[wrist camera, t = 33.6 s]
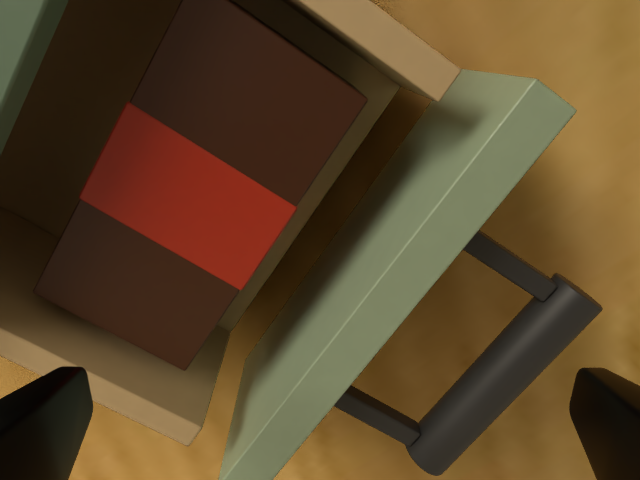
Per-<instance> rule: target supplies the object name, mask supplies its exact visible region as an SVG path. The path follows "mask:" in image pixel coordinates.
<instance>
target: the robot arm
mask: <svg viewBox="0 0 640 480" xmlns="http://www.w3.org/2000/svg"><path fill="white" fill-rule="evenodd" d="M569 410H570V415H571V419H572V421H573V424H574V426H575V428H576V431H577V433H578V436H579V438H580V440H581V443H582V445H583V447H584V450H585V452H586V455H587V457H588V459H589V462H590V464H591V467H592V469H593V471H594V474H595V476H596V478H597V480H640V386H639V385H637V384H635V383H633V382H631V381H629V380H627V379H625V378H623V377H621V376H619V375H617V374H615V373H613V372H611V371H609V370H607V369H605V368H582V369H580V370H579V371H578V372H577V375H576V378H575V383H574V387H573V391H572V396H571V400H570V405H569ZM92 412H93V401H92V396H91V391H90V385H89V380H88V375H87V372H86V370H85V369H84V368H83V367H80V366H62V367H59V368H57V369H55V370H53V371H51V372H49V373H47V374H45V375H44V376H42V377H40V378H38V379H36V380H34V381H33V382H31V383H29V384H27V385H25V386H23V387H21V388H20V389H18V390H16V391H14V392H12V393H10V394H9V395H7V396H5V397H3V398H1V399H0V480H68V479H69V476H70V474H71V471H72V468H73V465H74V463H75V460H76V457H77V455H78V452H79V449H80V447H81V444H82V441H83V439H84V436H85V433H86V430H87V428H88V425H89V422H90V420H91V417H92Z"/></svg>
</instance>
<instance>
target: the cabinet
mask: <svg viewBox="0 0 640 480" xmlns="http://www.w3.org/2000/svg"><path fill="white" fill-rule="evenodd" d="M68 1H69V0H0V156H1V153H2V151H3V149H4V146H5V144H6V142H7V140H8V137H9V135H10V133H11V131H12V128H13V126H14V124H15V121H16V119H17V117H18V115H19V112H20V110H21V108H22V105H23V103H24V101H25V99H26V96H27V94H28V92H29V90H30V87H31V85H32V83H33V80H34V78H35V76H36V74H37V71H38V69H39V67H40V64H41V62H42V60H43V58H44V55H45V53H46V51H47V49H48V46H49V44H50V42H51V39H52V37H53V35H54V33H55V30H56V28H57V26H58V23H59V21H60V19H61V17H62V14H63V12H64V10H65V8H66V5H67V3H68Z"/></svg>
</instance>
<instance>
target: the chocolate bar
mask: <svg viewBox="0 0 640 480" xmlns="http://www.w3.org/2000/svg"><path fill="white" fill-rule="evenodd" d="M367 102H368V99H367V97H366V96H365V95H363V94H362V93H361V92H360V91H359V90H358V89H357V88H356V87H355V86H353V85H352V84H351V83H349V82H348V81H346V80H345V79H344V78H342V77H341V76H339V75H338V74H336V73H335V72H334V71H332V70H331V69H329V68H328V67H327V66H325V65H324V64H322V63H321V62H320V61H318V60H317V59H315V58H314V57H312V56H311V55H310V54H308V53H307V52H305V51H304V50H303V49H301V48H300V47H298V46H297V45H295V44H294V43H293V42H291V41H290V40H288V39H287V38H286V37H284V36H283V35H281V34H280V33H278V32H277V31H276V30H274V29H273V28H271V27H270V26H269V25H267V24H266V23H264V22H263V21H261V20H260V19H259V18H257V17H256V16H254V15H253V14H252V13H250V12H249V11H247V10H246V9H244V8H243V7H242V6H240V5H239V4H237V3H236V2H235V1H233V0H181V2H180V4H179V6H178V7H177V9H176V11H175V13H174V15H173V17H172V19H171V21H170V23H169V25H168V27H167V29H166V31H165V33H164V35H163V37H162V39H161V41H160V43H159V45H158V47H157V49H156V51H155V52H154V54H153V56H152V58H151V60H150V62H149V64H148V66H147V68H146V70H145V72H144V74H143V76H142V78H141V80H140V82H139V84H138V86H137V88H136V90H135V92H134V94H133V96H132V98H131V99H130V101H128V102H126V103H125V105H124V107H123V109H122V111H121V113H120V115H119V117H118V119H117V121H116V123H115V125H114V127H113V129H112V131H111V133H110V135H109V137H108V139H107V141H106V143H105V145H104V147H103V149H102V151H101V153H100V155H99V157H98V158H97V160H96V162H95V164H94V166H93V168H92V170H91V172H90V174H89V176H88V178H87V180H86V182H85V184H84V186H83V188H82V190H81V192H80V194H79V201H78V203H77V205H76V207H75V209H74V211H73V213H72V215H71V217H70V219H69V221H68V223H67V225H66V227H65V229H64V231H63V233H62V234H61V236H60V238H59V240H58V242H57V244H56V246H55V248H54V250H53V252H52V254H51V256H50V258H49V260H48V262H47V264H46V266H45V268H44V270H43V272H42V274H41V276H40V278H39V279H38V281H37V283H36V285H35V287H34V289H33V293H34V294H36V295H38V296H40V297H42V298H44V299H46V300H48V301H50V302H52V303H54V304H56V305H58V306H59V307H61V308H63V309H65V310H67V311H69V312H71V313H73V314H75V315H77V316H79V317H81V318H83V319H85V320H87V321H88V322H90V323H92V324H94V325H96V326H98V327H100V328H102V329H104V330H106V331H108V332H110V333H112V334H114V335H116V336H117V337H119V338H121V339H123V340H125V341H127V342H129V343H131V344H133V345H135V346H137V347H139V348H141V349H143V350H145V351H146V352H148V353H150V354H152V355H154V356H156V357H158V358H160V359H162V360H164V361H166V362H168V363H170V364H172V365H174V366H175V367H177V368H179V369H181V370H183V371H185V370H187V368H188V367H189V365H190V364H191V362H192V361H193V359H194V358H195V356H196V355H197V353H198V352H199V350H200V349H201V348H202V346H203V345H204V343H205V342H206V340H207V339H208V337H209V336H210V334H211V333H212V331H213V330H214V328H215V327H216V325H217V324H218V322H219V321H220V319H221V318H222V316H223V315H224V313H225V312H226V311H227V309H228V308H229V306H230V305H231V303H232V302H233V300H234V299H235V297H236V296H237V294H238V293H239V291H240V290H243V289H244V287H245V286H246V284H247V283H248V282H249V280H250V279H251V277H252V276H253V274H254V273H255V271H256V270H257V268H258V267H259V265H260V264H261V262H262V261H263V259H264V258H265V256H266V255H267V253H268V252H269V251H270V249H271V248H272V246H273V245H274V243H275V242H276V240H277V239H278V237H279V236H280V234H281V233H282V231H283V230H284V228H285V227H286V225H287V224H288V222H289V221H290V220H291V218H292V217H293V215H294V214H295V212H296V211H297V207H298V204H299V202H300V201H301V199H302V198H303V197H304V195H305V194H306V192H307V191H308V189H309V188H310V186H311V185H312V183H313V182H314V180H315V179H316V177H317V176H318V174H319V173H320V171H321V170H322V168H323V167H324V165H325V164H326V162H327V161H328V160H329V158H330V157H331V155H332V154H333V152H334V151H335V149H336V148H337V146H338V145H339V143H340V142H341V140H342V139H343V137H344V136H345V134H346V133H347V131H348V130H349V128H350V127H351V125H352V124H353V122H354V121H355V120H356V118H357V117H358V115H359V114H360V112H361V111H362V109H363V108H364V106H365V105H366V103H367Z"/></svg>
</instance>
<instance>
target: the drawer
mask: <svg viewBox="0 0 640 480" xmlns="http://www.w3.org/2000/svg"><path fill="white" fill-rule="evenodd" d="M233 1H235V2H236V3H237V4H239V5H240V6H242V7H243V8H244V9H246V10H247V11H249V12H250V13H252V14H253V15H254V16H256V17H257V18H259V19H260V20H261V21H263V22H264V23H266V24H267V25H269V26H270V27H271V28H273V29H274V30H276V31H277V32H278V33H280V34H281V35H283V36H284V37H286V38H287V39H288V40H290V41H291V42H293V43H294V44H295V45H297V46H298V47H300V48H301V49H303V50H304V51H305V52H307V53H308V54H310V55H311V56H312V57H314V58H315V59H317V60H318V61H320V62H321V63H322V64H324V65H325V66H327V67H328V68H329V69H331V70H332V71H334V72H335V73H336V74H338V75H339V76H341V77H342V78H344V79H345V80H346V81H348V82H349V83H351V84H352V85H353V86H355V87H356V88H357V89H358V90H359V91H360V92H361V93H362V94H363V95H365V96H366V97H367V99H368V102H367V103H366V105H365V106H364V108H363V109H362V111H361V112H360V114H359V115H358V117H357V118H356V120H355V121H354V122H353V124H352V125H351V127H350V128H349V130H348V131H347V133H346V134H345V136H344V137H343V139H342V140H341V142H340V143H339V145H338V146H337V148H336V149H335V151H334V152H333V154H332V155H331V157H330V158H329V160H328V161H327V162H326V164H325V165H324V167H323V168H322V170H321V171H320V173H319V174H318V176H317V177H316V179H315V180H314V182H313V183H312V185H311V186H310V188H309V189H308V191H307V192H306V194H305V195H304V197H303V198H302V199H301V201H300V202H299V204H298V207H297V211H296V212H295V214H294V215H293V217H292V218H291V220H290V221H289V222H288V224H287V225H286V227H285V228H284V230H283V231H282V233H281V234H280V236H279V237H278V239H277V240H276V242H275V243H274V245H273V246H272V248H271V249H270V251H269V252H268V253H267V255H266V256H265V258H264V259H263V261H262V262H261V264H260V265H259V267H258V268H257V270H256V271H255V273H254V274H253V276H252V277H251V279H250V280H249V282H248V283H247V284H246V286H245V287H244V289H243V290H240V291H239V293H238V294H237V296H236V297H235V299H234V300H233V302H232V303H231V305H230V306H229V308H228V309H227V311H226V312H225V313H224V315H223V316H222V318H221V319H220V321H219V322H218V324H217V325H216V327H215V328H214V330H213V331H212V333H211V334H210V336H209V337H208V339H207V340H206V342H205V343H204V345H203V346H202V348H201V349H200V350H199V352H198V353H197V355H196V356H195V358H194V359H193V361H192V362H191V364H190V365H189V367H188V368H187V370H185V371H183V370H181V369H179V368H177V367H175V366H174V365H172V364H170V363H168V362H166V361H164V360H162V359H160V358H158V357H156V356H154V355H152V354H150V353H148V352H146V351H145V350H143V349H141V348H139V347H137V346H135V345H133V344H131V343H129V342H127V341H125V340H123V339H121V338H119V337H117V336H116V335H114V334H112V333H110V332H108V331H106V330H104V329H102V328H100V327H98V326H96V325H94V324H92V323H90V322H88V321H87V320H85V319H83V318H81V317H79V316H77V315H75V314H73V313H71V312H69V311H67V310H65V309H63V308H61V307H59V306H58V305H56V304H54V303H52V302H50V301H48V300H46V299H44V298H42V297H40V296H38V295H36V294H34V293H33V289H34V287H35V285H36V283H37V281H38V279H39V278H40V276H41V274H42V272H43V270H44V268H45V266H46V264H47V262H48V260H49V258H50V256H51V254H52V252H53V250H54V248H55V246H56V244H57V242H58V240H59V238H60V236H61V234H62V233H63V231H64V229H65V227H66V225H67V223H68V221H69V219H70V217H71V215H72V213H73V211H74V209H75V207H76V205H77V203H78V201H79V194H80V192H81V190H82V188H83V186H84V184H85V182H86V180H87V178H88V176H89V174H90V172H91V170H92V168H93V166H94V164H95V162H96V160H97V158H98V157H99V155H100V153H101V151H102V149H103V147H104V145H105V143H106V141H107V139H108V137H109V135H110V133H111V131H112V129H113V127H114V125H115V123H116V121H117V119H118V117H119V115H120V113H121V111H122V109H123V107H124V105H125V103H126V102H128V101H130V99H131V98H132V96H133V94H134V92H135V90H136V88H137V86H138V84H139V82H140V80H141V78H142V76H143V74H144V72H145V70H146V68H147V66H148V64H149V62H150V60H151V58H152V56H153V54H154V52H155V51H156V49H157V47H158V45H159V43H160V41H161V39H162V37H163V35H164V33H165V31H166V29H167V27H168V25H169V23H170V21H171V19H172V17H173V15H174V13H175V11H176V9H177V7H178V6H179V4H180V2H181V0H69V1H68V3H67V5H66V8H65V10H64V12H63V14H62V17H61V19H60V21H59V23H58V26H57V28H56V30H55V33H54V35H53V37H52V39H51V42H50V44H49V46H48V49H47V51H46V53H45V55H44V58H43V60H42V62H41V64H40V67H39V69H38V71H37V74H36V76H35V78H34V80H33V83H32V85H31V87H30V90H29V92H28V94H27V96H26V99H25V101H24V103H23V105H22V108H21V110H20V112H19V115H18V117H17V119H16V121H15V124H14V126H13V128H12V131H11V133H10V135H9V137H8V140H7V142H6V144H5V146H4V149H3V151H2V153H1V156H0V356H2V357H4V358H6V359H8V360H10V361H12V362H14V363H16V364H18V365H20V366H22V367H25V368H27V369H29V370H31V371H33V372H35V373H37V374H39V375H41V376H44V375H45V374H47V373H49V372H51V371H53V370H55V369H57V368H59V367H62V366H80V367H83V368H84V369H85V370H86V372H87V375H88V380H89V385H90V391H91V396H92V400H93V401H95V402H97V403H99V404H101V405H103V406H105V407H107V408H109V409H111V410H113V411H116V412H118V413H120V414H122V415H124V416H126V417H128V418H130V419H132V420H134V421H136V422H138V423H140V424H142V425H145V426H147V427H149V428H151V429H153V430H155V431H157V432H159V433H161V434H163V435H165V436H167V437H169V438H171V439H173V440H176V441H178V442H180V443H182V444H184V445H186V446H189V445H190V444H191V443H192V442H193V440H194V439H195V438H196V436H197V435H198V433H199V432H200V431H201V429H202V427H203V423H204V420H205V417H206V413H207V410H208V407H209V403H210V400H211V397H212V393H213V390H214V387H215V383H216V380H217V377H218V373H219V370H220V367H221V363H222V360H223V357H224V353H225V350H226V347H227V343H228V340H229V337H230V333H231V331H232V330H233V328H234V327H235V325H236V324H237V322H238V321H239V320H240V318H241V317H242V315H243V314H244V312H245V311H246V309H247V308H248V307H249V305H250V304H251V302H252V301H253V299H254V298H255V296H256V295H257V293H258V292H259V291H260V289H261V288H262V286H263V285H264V283H265V282H266V280H267V279H268V278H269V276H270V275H271V273H272V272H273V270H274V269H275V267H276V266H277V265H278V263H279V262H280V260H281V259H282V257H283V256H284V254H285V253H286V252H287V250H288V249H289V247H290V246H291V244H292V243H293V241H294V240H295V239H296V237H297V236H298V234H299V233H300V231H301V230H302V228H303V227H304V226H305V224H306V223H307V221H308V220H309V218H310V217H311V215H312V214H313V213H314V211H315V210H316V208H317V207H318V205H319V204H320V202H321V201H322V200H323V198H324V197H325V195H326V194H327V192H328V191H329V189H330V188H331V187H332V185H333V184H334V182H335V181H336V179H337V178H338V176H339V175H340V173H341V172H342V171H343V169H344V168H345V166H346V165H347V163H348V162H349V160H350V159H351V158H352V156H353V155H354V153H355V152H356V150H357V149H358V147H359V146H360V145H361V143H362V142H363V140H364V139H365V137H366V136H367V134H368V133H369V132H370V130H371V129H372V127H373V126H374V124H375V123H376V121H377V120H378V119H379V117H380V116H381V114H382V113H383V111H384V110H385V108H386V107H387V106H388V104H389V103H390V101H391V100H392V98H393V97H394V95H395V94H396V93H397V91H398V90H399V88H400V87H403V88H406V89H408V90H410V91H413V92H415V93H418V94H420V95H422V96H425V97H427V98H429V99H432V101H431V103H430V104H429V105H428V107H427V108H426V110H425V111H424V112H423V114H422V115H421V117H420V118H419V119H418V121H417V122H416V124H415V125H414V126H413V128H412V129H411V130H410V132H409V133H408V135H407V136H406V137H405V139H404V140H403V142H402V143H401V144H400V146H399V147H398V149H397V150H396V151H395V153H394V154H393V155H392V157H391V158H390V160H389V161H388V162H387V164H386V165H385V167H384V168H383V169H382V171H381V172H380V174H379V175H378V176H377V178H376V179H375V180H374V182H373V183H372V185H371V186H370V187H369V189H368V190H367V192H366V193H365V194H364V196H363V197H362V199H361V200H360V201H359V203H358V204H357V205H356V207H355V208H354V210H353V211H352V212H351V214H350V215H349V217H348V218H347V219H346V221H345V222H344V224H343V225H342V226H341V228H340V229H339V230H338V232H337V233H336V235H335V236H334V237H333V239H332V240H331V242H330V243H329V244H328V246H327V247H326V249H325V250H324V251H323V253H322V254H321V255H320V257H319V258H318V260H317V261H316V262H315V264H314V265H313V267H312V268H311V269H310V271H309V272H308V274H307V275H306V276H305V278H304V279H303V280H302V282H301V283H300V285H299V286H298V287H297V289H296V290H295V292H294V293H293V294H292V296H291V297H290V299H289V300H288V301H287V303H286V304H285V305H284V307H283V308H282V310H281V311H280V312H279V314H278V315H277V317H276V318H275V319H274V321H273V322H272V324H271V325H270V326H269V328H268V329H267V330H266V332H265V333H264V335H263V336H262V337H261V339H260V340H259V342H258V343H257V344H256V346H255V347H254V349H253V350H252V351H251V353H250V354H249V355H248V357H247V358H246V360H245V364H244V369H243V373H242V377H241V382H240V386H239V391H238V395H237V400H236V404H235V408H234V413H233V417H232V422H231V426H230V431H229V435H228V439H227V444H226V448H225V453H224V457H223V462H222V466H221V470H220V475H219V479H218V480H273V479H274V477H275V476H276V475H277V474H278V472H279V471H280V470H281V469H282V468H283V466H284V465H285V464H286V463H287V462H288V460H289V459H290V458H291V457H292V456H293V454H294V453H295V452H296V451H297V449H298V448H299V447H300V446H301V445H302V443H303V442H304V441H305V440H306V439H307V437H308V436H309V435H310V434H311V433H312V431H313V430H314V429H315V428H316V426H317V425H318V424H319V423H320V422H321V420H322V419H323V418H324V417H325V416H326V414H327V413H328V412H329V411H330V410H331V408H332V407H333V406H335V407H337V408H339V409H341V410H342V411H344V412H346V413H348V414H350V415H352V416H354V417H355V418H357V419H359V420H361V421H363V422H365V423H366V424H368V425H370V426H372V427H374V428H376V429H378V430H379V431H381V432H383V433H385V434H387V435H389V436H391V437H392V438H394V439H396V440H398V441H400V442H402V443H404V444H405V446H406V449H407V451H408V453H409V455H410V456H411V458H412V459H413V460H414V461H415V463H416V464H417V465H418V466H419V467H420V468H422V469H423V470H424V471H426V472H427V473H429V474H431V475H435V476H438V475H441V474H442V473H443V472H444V471H445V470H446V469H447V468H448V467H449V466H450V465H451V464H452V463H453V462H454V461H455V460H456V459H457V458H458V457H459V456H460V455H461V454H462V453H463V452H464V451H465V450H466V449H467V448H468V447H469V446H470V445H471V444H472V443H473V442H474V441H475V440H476V439H477V438H478V437H479V436H480V435H481V434H482V433H483V432H484V431H485V430H486V429H487V427H488V426H489V425H490V424H491V423H492V422H493V421H494V420H495V419H496V418H497V417H498V416H499V415H500V414H501V413H502V412H503V411H504V410H505V409H506V408H507V407H508V406H509V405H510V404H511V403H512V402H513V401H514V400H515V399H516V398H517V397H518V396H519V395H520V394H521V393H522V392H523V391H524V390H525V389H526V388H527V387H528V386H529V385H530V384H531V383H532V382H533V380H534V379H535V378H536V377H537V376H538V375H539V374H540V373H541V372H542V371H543V370H544V369H545V368H546V367H547V366H548V365H549V364H550V363H551V362H552V361H553V360H554V359H555V358H556V357H557V356H558V355H559V354H560V353H561V352H562V351H563V350H564V349H565V348H566V347H567V346H568V345H569V344H570V343H571V342H572V341H573V340H574V339H575V338H576V337H577V336H578V335H579V334H580V332H581V331H582V330H583V329H584V328H585V327H586V326H587V325H588V324H589V323H590V322H591V321H592V320H593V319H594V318H595V317H596V316H597V315H598V314H599V313H600V312H601V311H602V309H603V308H602V307H601V305H600V304H599V303H597V302H596V301H595V300H594V299H593V298H592V297H590V296H589V295H588V294H587V293H585V292H584V291H583V290H582V289H580V288H579V287H578V286H576V285H575V284H573V283H572V282H571V281H569V280H568V279H566V278H565V277H563V276H562V275H560V274H557V273H556V274H554V275H553V276H552V277H551V278H549V277H548V276H546V275H545V274H543V273H542V272H540V271H539V270H537V269H536V268H534V267H533V266H531V265H530V264H529V263H527V262H526V261H524V260H523V259H521V258H520V257H518V256H517V255H515V254H514V253H512V252H511V251H509V250H508V249H506V248H505V247H503V246H502V245H500V244H499V243H498V242H496V241H495V240H493V239H492V238H490V237H489V236H487V235H486V234H484V233H483V232H481V231H480V230H479V229H480V228H481V227H482V225H483V224H484V223H485V222H486V221H487V219H488V218H489V217H490V216H491V215H492V213H493V212H494V211H495V210H496V209H497V207H498V206H499V205H500V204H501V202H502V201H503V200H504V199H505V198H506V196H507V195H508V194H509V193H510V192H511V190H512V189H513V188H514V187H515V186H516V184H517V183H518V182H519V181H520V179H521V178H522V177H523V176H524V175H525V173H526V172H527V171H528V170H529V169H530V167H531V166H532V165H533V164H534V163H535V161H536V160H537V159H538V158H539V156H540V155H541V154H542V153H543V152H544V150H545V149H546V148H547V147H548V146H549V144H550V143H551V142H552V141H553V140H554V138H555V137H556V136H557V135H558V133H559V132H560V131H561V130H562V129H563V127H564V126H565V125H566V124H567V123H568V121H569V120H570V119H571V118H572V117H573V115H574V114H575V113H576V109H575V108H574V107H572V106H571V105H570V104H569V103H567V102H566V101H565V100H563V99H562V98H561V97H560V96H558V95H557V94H556V93H555V92H553V91H552V90H551V89H549V88H548V87H547V86H546V85H544V84H543V83H542V82H540V81H539V80H538V79H535V78H528V77H520V76H512V75H504V74H497V73H489V72H481V71H473V70H466V69H460V68H459V67H458V66H456V65H455V64H454V63H452V62H451V61H450V60H448V59H447V58H446V57H444V56H443V55H442V54H440V53H439V52H438V51H436V50H435V49H434V48H432V47H431V46H430V45H428V44H427V43H426V42H425V41H423V40H422V39H421V38H419V37H418V36H417V35H415V34H414V33H413V32H411V31H410V30H409V29H407V28H406V27H405V26H403V25H402V24H401V23H399V22H398V21H397V20H395V19H394V18H393V17H391V16H390V15H389V14H387V13H386V12H385V11H384V10H382V9H381V8H380V7H378V6H377V5H376V4H374V3H373V2H372V1H370V0H233ZM462 250H465V251H466V252H468V253H469V254H471V255H472V256H474V257H475V258H477V259H478V260H480V261H481V262H483V263H484V264H486V265H487V266H489V267H490V268H492V269H493V270H495V271H496V272H498V273H499V274H501V275H502V276H504V277H505V278H507V279H508V280H510V281H511V282H513V283H515V284H516V285H518V286H519V287H521V288H522V289H524V290H525V291H527V292H528V293H530V294H531V295H533V296H534V297H533V298H532V299H531V300H530V301H529V303H528V304H527V305H526V306H525V307H524V308H523V309H522V310H521V311H520V312H519V313H518V315H517V316H516V317H515V318H514V319H513V320H512V321H511V322H510V323H509V324H508V325H507V327H506V328H505V329H504V330H503V331H502V332H501V333H500V334H499V335H498V336H497V338H496V339H495V340H494V341H493V342H492V343H491V344H490V345H489V346H488V347H487V348H486V350H485V351H484V352H483V353H482V354H481V355H480V356H479V357H478V358H477V359H476V360H475V362H474V363H473V364H472V365H471V366H470V367H469V368H468V369H467V370H466V371H465V373H464V374H463V375H462V376H461V377H460V378H459V379H458V380H457V381H456V382H455V383H454V385H453V386H452V387H451V388H450V389H449V390H448V391H447V392H446V393H445V394H444V396H443V397H442V398H441V399H440V400H439V401H438V402H437V403H436V404H435V405H434V406H433V408H432V409H431V410H430V411H429V412H428V413H427V414H426V415H425V416H424V417H423V418H422V420H421V421H420V422H419V423H417V422H416V421H415V420H413V419H411V418H409V417H407V416H406V415H404V414H402V413H400V412H398V411H397V410H395V409H393V408H391V407H389V406H388V405H386V404H384V403H382V402H380V401H379V400H377V399H375V398H373V397H371V396H369V395H368V394H366V393H364V392H362V391H360V390H359V389H357V388H355V387H353V386H351V384H352V383H353V382H354V380H355V379H356V378H357V377H358V376H359V374H360V373H361V372H362V371H363V370H364V368H365V367H366V366H367V365H368V364H369V362H370V361H371V360H372V359H373V357H374V356H375V355H376V354H377V353H378V351H379V350H380V349H381V348H382V347H383V345H384V344H385V343H386V342H387V341H388V339H389V338H390V337H391V336H392V334H393V333H394V332H395V331H396V330H397V328H398V327H399V326H400V325H401V324H402V322H403V321H404V320H405V319H406V318H407V316H408V315H409V314H410V313H411V311H412V310H413V309H414V308H415V307H416V305H417V304H418V303H419V302H420V301H421V299H422V298H423V297H424V296H425V295H426V293H427V292H428V291H429V290H430V288H431V287H432V286H433V285H434V284H435V282H436V281H437V280H438V279H439V278H440V276H441V275H442V274H443V273H444V271H445V270H446V269H447V268H448V267H449V265H450V264H451V263H452V262H453V261H454V259H455V258H456V257H457V256H458V255H459V253H460V252H461V251H462Z"/></svg>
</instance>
